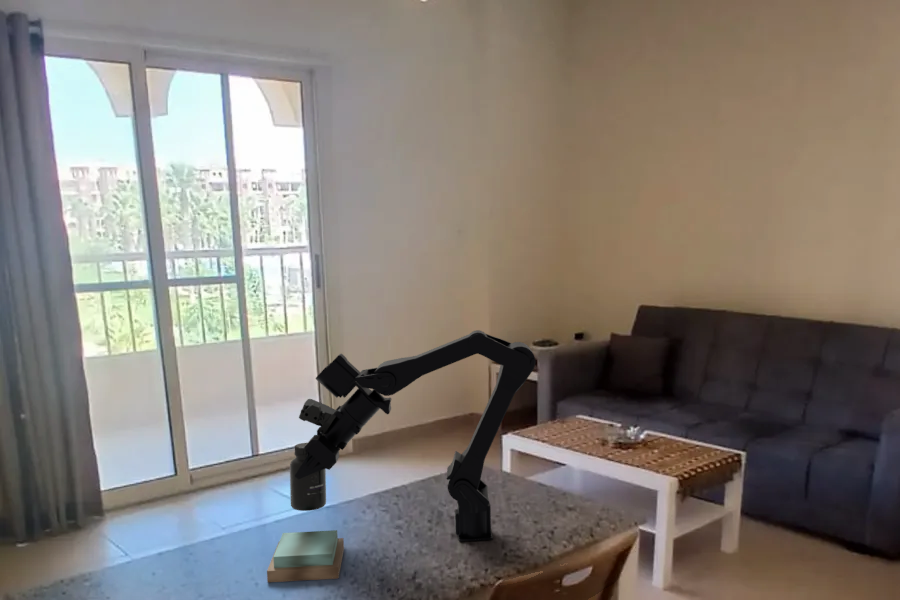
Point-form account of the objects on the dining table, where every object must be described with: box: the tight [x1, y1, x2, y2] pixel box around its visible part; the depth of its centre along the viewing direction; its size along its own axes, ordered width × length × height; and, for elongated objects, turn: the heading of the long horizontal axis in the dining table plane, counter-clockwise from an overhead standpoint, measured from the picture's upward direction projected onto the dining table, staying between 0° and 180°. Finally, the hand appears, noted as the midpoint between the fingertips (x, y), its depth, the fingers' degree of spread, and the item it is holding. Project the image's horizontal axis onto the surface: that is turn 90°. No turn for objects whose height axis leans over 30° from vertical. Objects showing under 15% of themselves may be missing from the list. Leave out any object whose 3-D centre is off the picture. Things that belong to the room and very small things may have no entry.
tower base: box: [266, 529, 345, 583], centre depth 128 cm, size 12×12×4 cm
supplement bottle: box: [289, 442, 327, 512], centre depth 139 cm, size 7×7×12 cm
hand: (300, 471), depth 139 cm, fingers closed on supplement bottle, 7 cm apart
